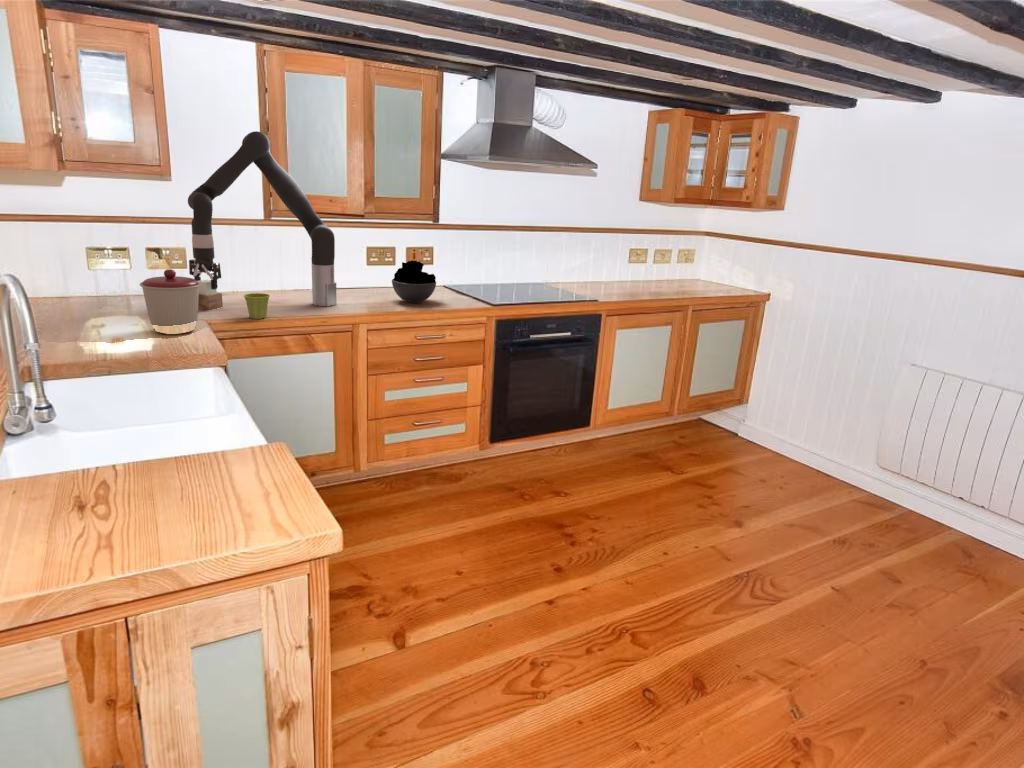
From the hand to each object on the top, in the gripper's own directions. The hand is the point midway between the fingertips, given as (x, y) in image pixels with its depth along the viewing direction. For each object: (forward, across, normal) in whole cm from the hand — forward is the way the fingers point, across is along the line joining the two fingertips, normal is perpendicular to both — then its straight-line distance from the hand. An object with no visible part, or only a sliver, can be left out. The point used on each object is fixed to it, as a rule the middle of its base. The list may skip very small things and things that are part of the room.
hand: (206, 287), depth 256 cm
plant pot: (+8, -26, 0) cm, 27 cm away
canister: (+8, -22, +34) cm, 41 cm away
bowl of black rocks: (+8, -53, -68) cm, 87 cm away
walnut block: (+8, 0, 0) cm, 8 cm away
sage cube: (+2, 0, 0) cm, 2 cm away
